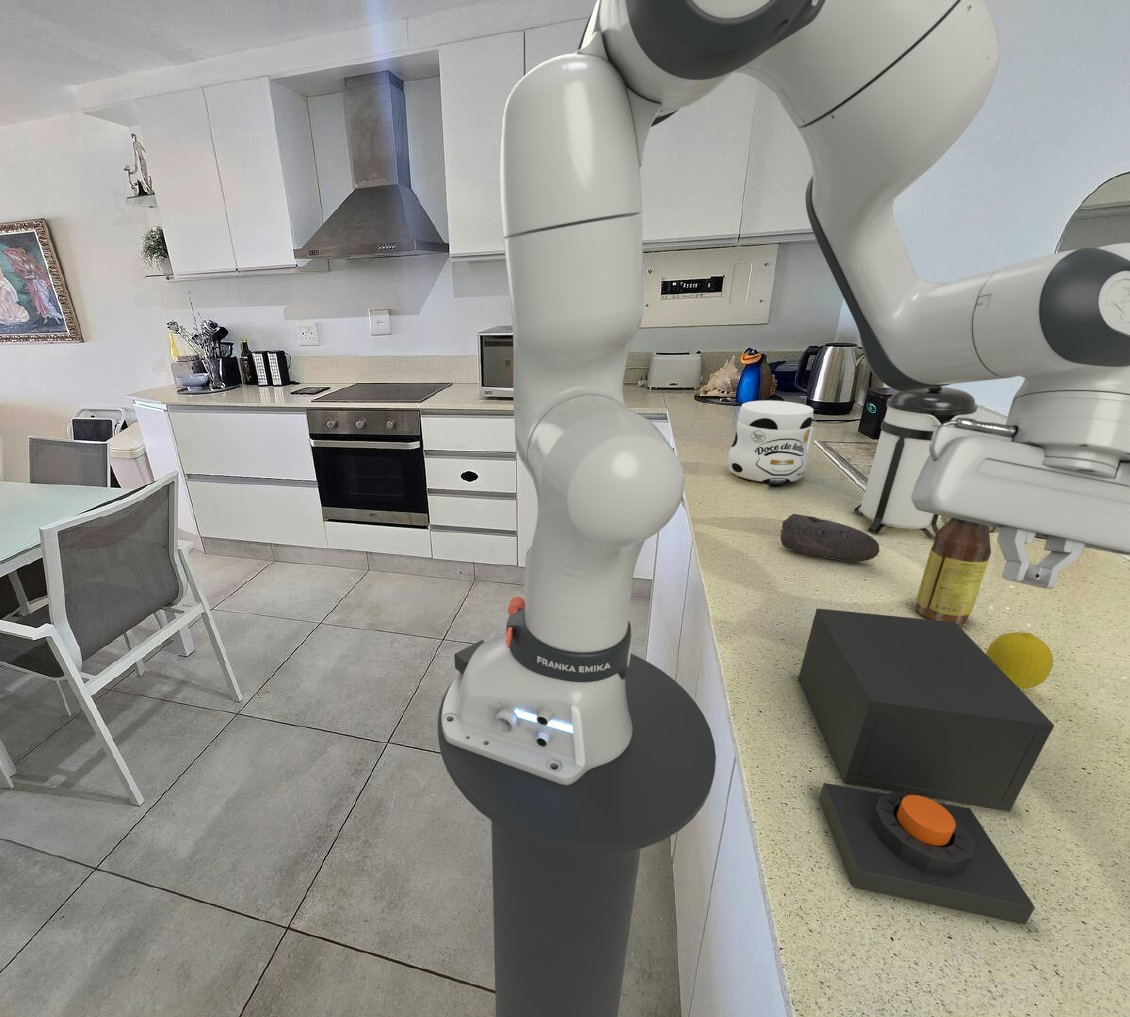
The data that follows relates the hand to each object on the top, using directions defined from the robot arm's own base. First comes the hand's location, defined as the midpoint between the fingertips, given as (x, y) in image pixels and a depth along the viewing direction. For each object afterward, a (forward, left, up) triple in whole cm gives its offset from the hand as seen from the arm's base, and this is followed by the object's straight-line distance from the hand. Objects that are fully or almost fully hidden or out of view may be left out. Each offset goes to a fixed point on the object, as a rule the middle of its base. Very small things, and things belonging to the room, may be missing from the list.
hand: (1026, 584), depth 49 cm
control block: (-9, -13, -22) cm, 27 cm away
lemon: (+12, +14, -22) cm, 29 cm away
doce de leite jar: (+1, +89, -22) cm, 92 cm away
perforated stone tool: (+2, +47, -22) cm, 52 cm away
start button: (-9, -13, -18) cm, 24 cm away
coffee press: (+19, +65, -22) cm, 71 cm away
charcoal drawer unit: (-5, +2, -22) cm, 22 cm away
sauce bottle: (+12, +30, -22) cm, 39 cm away
